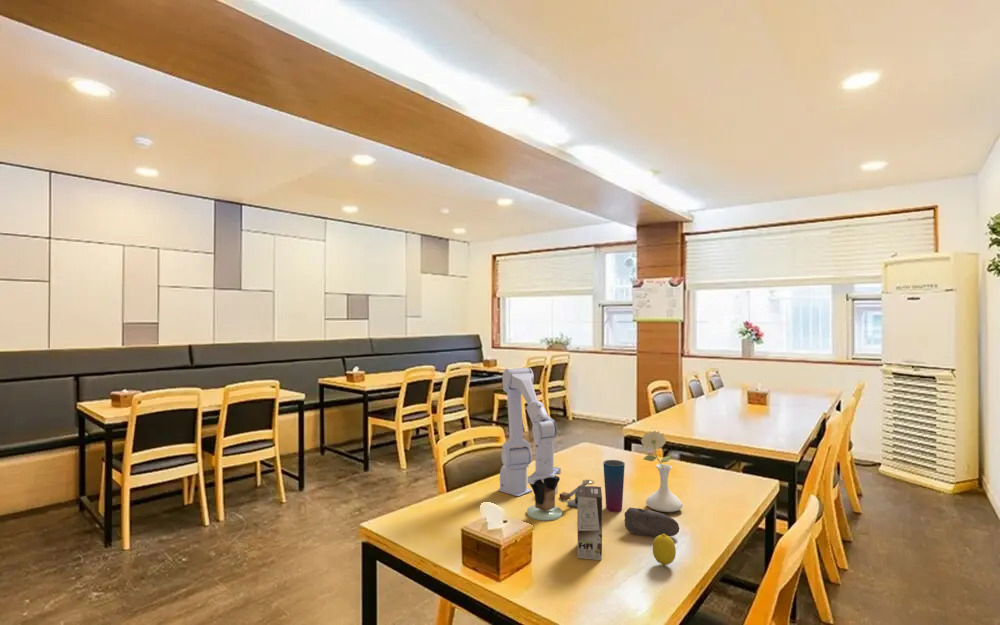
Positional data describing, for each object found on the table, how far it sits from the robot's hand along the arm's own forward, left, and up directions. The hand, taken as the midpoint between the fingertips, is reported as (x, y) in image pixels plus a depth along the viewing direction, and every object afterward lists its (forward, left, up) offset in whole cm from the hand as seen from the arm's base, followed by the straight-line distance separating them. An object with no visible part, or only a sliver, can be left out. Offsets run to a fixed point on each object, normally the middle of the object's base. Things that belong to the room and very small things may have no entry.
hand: (544, 501), depth 164 cm
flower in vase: (+25, +29, -4) cm, 39 cm away
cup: (+14, +18, -4) cm, 24 cm away
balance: (+3, +13, -4) cm, 14 cm away
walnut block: (0, 0, -2) cm, 2 cm away
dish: (0, 0, -4) cm, 4 cm away
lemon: (+43, -7, -4) cm, 44 cm away
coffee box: (+25, -13, -4) cm, 28 cm away
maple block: (-10, +15, -4) cm, 19 cm away
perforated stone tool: (+32, +8, -4) cm, 33 cm away
